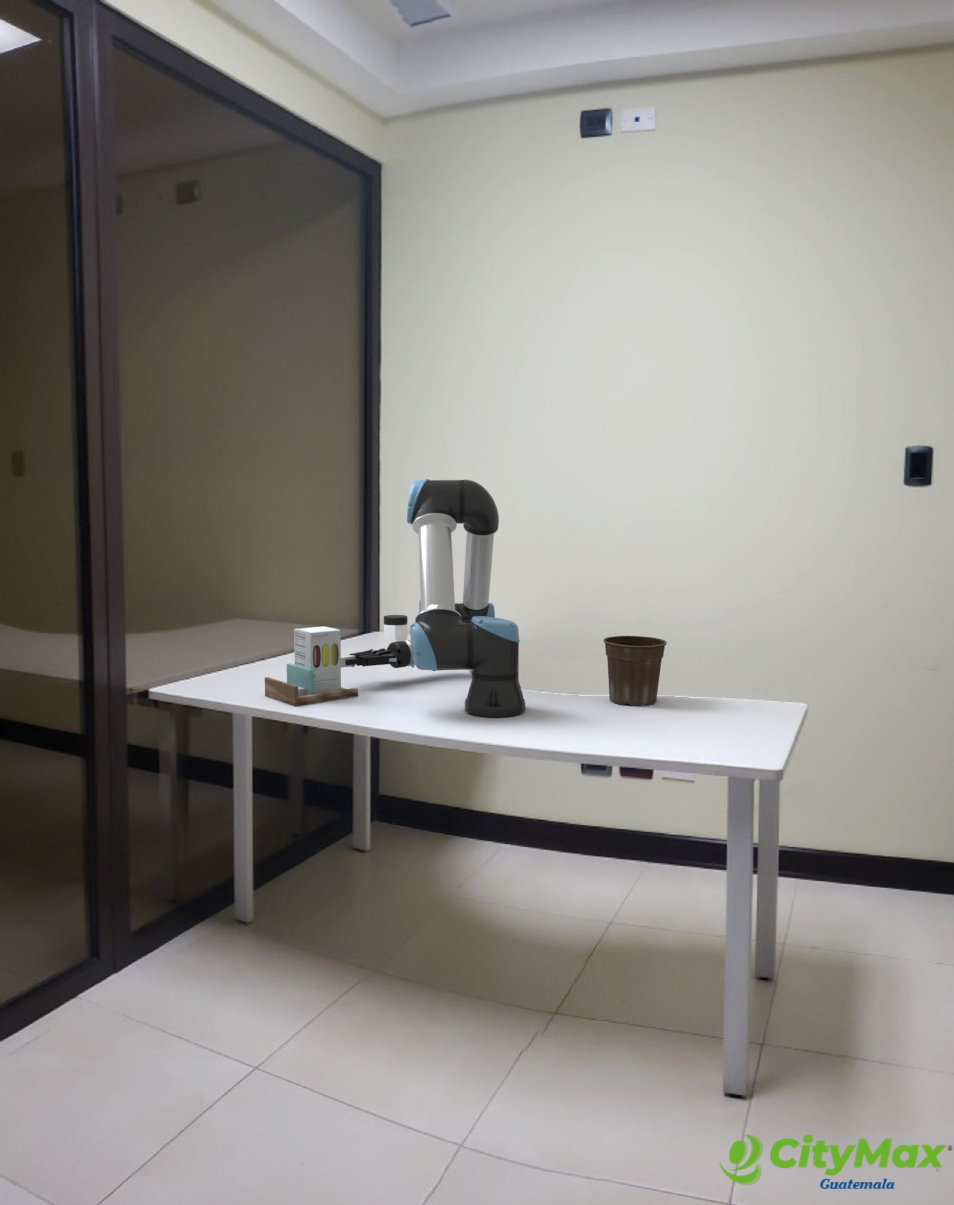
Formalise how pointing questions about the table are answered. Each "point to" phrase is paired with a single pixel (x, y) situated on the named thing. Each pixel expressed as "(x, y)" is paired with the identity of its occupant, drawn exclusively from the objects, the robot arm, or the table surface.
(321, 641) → the supplement box
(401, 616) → the jar
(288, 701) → the lane
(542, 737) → the table surface
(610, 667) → the plant pot
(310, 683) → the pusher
